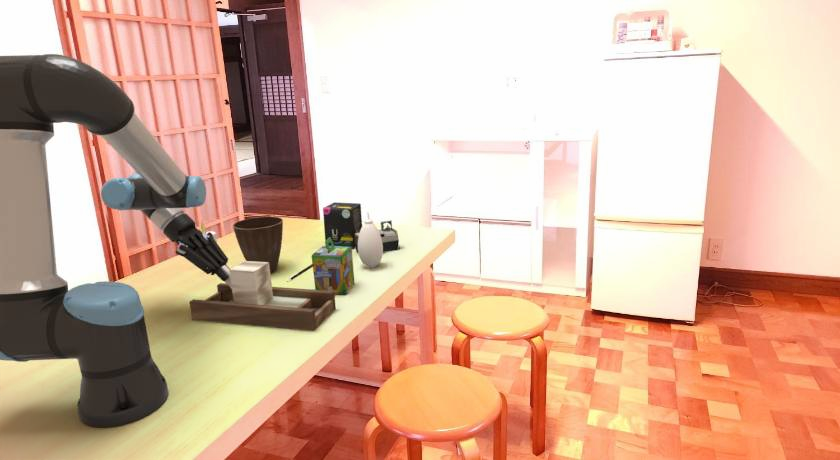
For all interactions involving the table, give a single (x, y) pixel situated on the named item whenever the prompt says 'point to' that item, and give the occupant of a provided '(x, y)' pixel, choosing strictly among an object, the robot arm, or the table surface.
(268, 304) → the tray
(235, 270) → the cream block
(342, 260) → the chalk box
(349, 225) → the tampon box
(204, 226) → the candle
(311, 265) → the pen
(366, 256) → the grey rubber bulb
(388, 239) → the camera
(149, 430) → the table surface
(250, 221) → the plant pot
